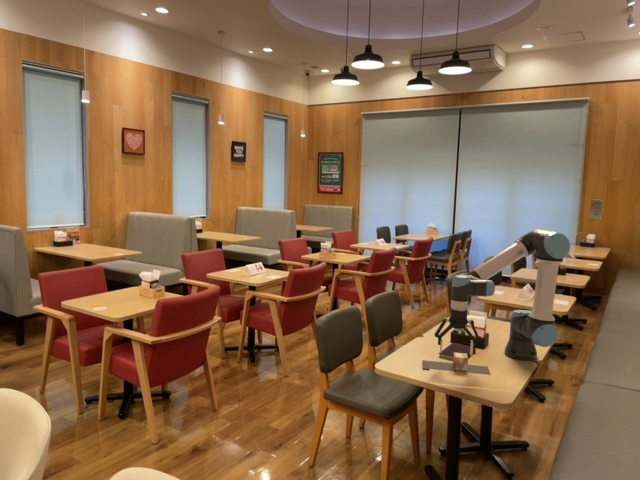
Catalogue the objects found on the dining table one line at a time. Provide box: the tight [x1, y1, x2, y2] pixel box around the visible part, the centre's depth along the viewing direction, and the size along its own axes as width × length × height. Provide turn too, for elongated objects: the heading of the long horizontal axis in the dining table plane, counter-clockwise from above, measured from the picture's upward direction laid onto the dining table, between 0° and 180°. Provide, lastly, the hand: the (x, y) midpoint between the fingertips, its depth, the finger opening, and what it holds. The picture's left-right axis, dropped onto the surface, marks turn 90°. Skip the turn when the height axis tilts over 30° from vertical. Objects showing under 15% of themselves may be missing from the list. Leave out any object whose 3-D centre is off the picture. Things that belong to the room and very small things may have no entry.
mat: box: [422, 360, 492, 376], centre depth 222 cm, size 30×10×1 cm, turn 79°
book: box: [438, 342, 477, 361], centre depth 240 cm, size 12×19×3 cm, turn 144°
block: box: [452, 353, 469, 371], centre depth 221 cm, size 6×6×6 cm
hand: (455, 353), depth 221 cm, fingers open, 13 cm apart
